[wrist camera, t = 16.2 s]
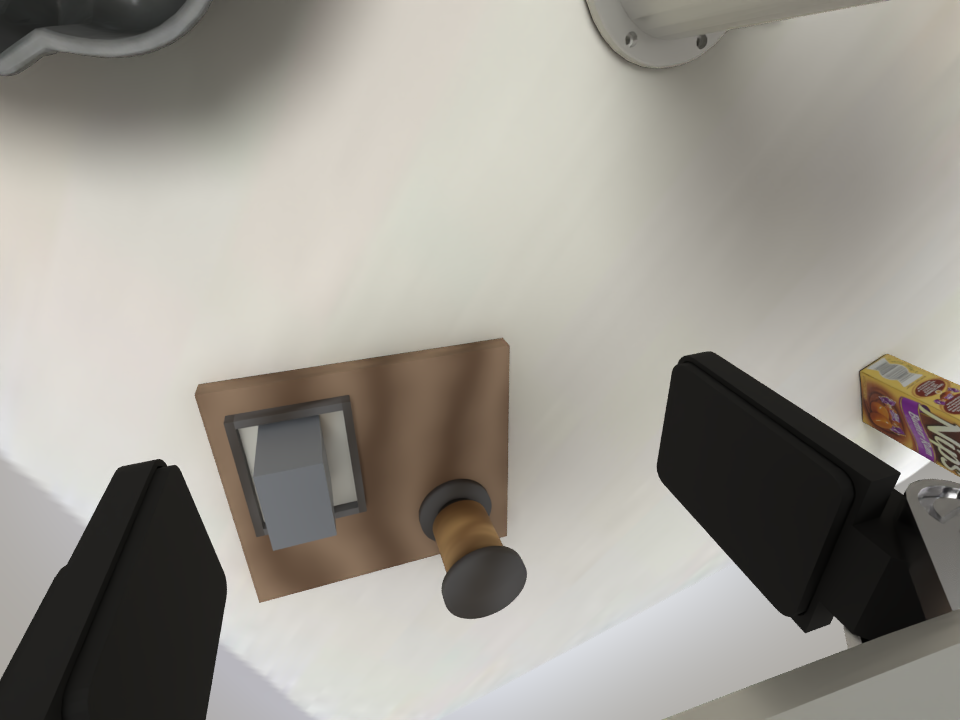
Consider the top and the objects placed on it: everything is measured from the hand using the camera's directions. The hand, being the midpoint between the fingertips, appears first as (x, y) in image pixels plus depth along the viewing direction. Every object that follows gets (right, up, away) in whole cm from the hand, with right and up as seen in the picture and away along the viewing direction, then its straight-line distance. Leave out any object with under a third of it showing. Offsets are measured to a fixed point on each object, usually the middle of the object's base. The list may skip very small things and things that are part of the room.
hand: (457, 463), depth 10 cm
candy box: (+47, -1, +50) cm, 69 cm away
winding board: (-8, -7, +32) cm, 34 cm away
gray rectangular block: (-13, -5, +27) cm, 30 cm away
